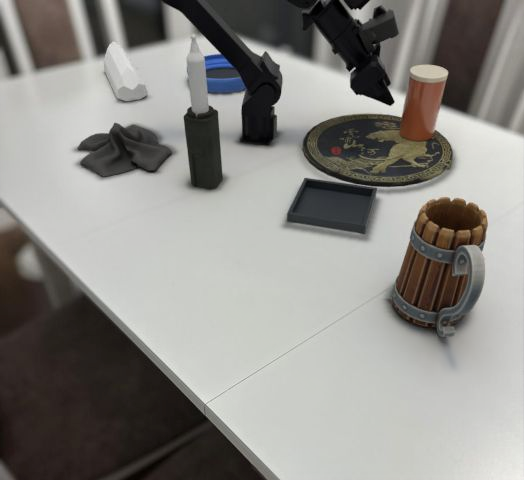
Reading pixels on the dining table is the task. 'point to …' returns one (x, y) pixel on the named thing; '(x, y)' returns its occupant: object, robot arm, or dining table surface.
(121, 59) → the crystal
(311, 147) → the decorative plate
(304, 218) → the dark gray rectangular tray
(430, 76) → the cup
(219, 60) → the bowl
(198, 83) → the candle
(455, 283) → the mug
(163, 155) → the cloth
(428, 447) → the dining table surface
